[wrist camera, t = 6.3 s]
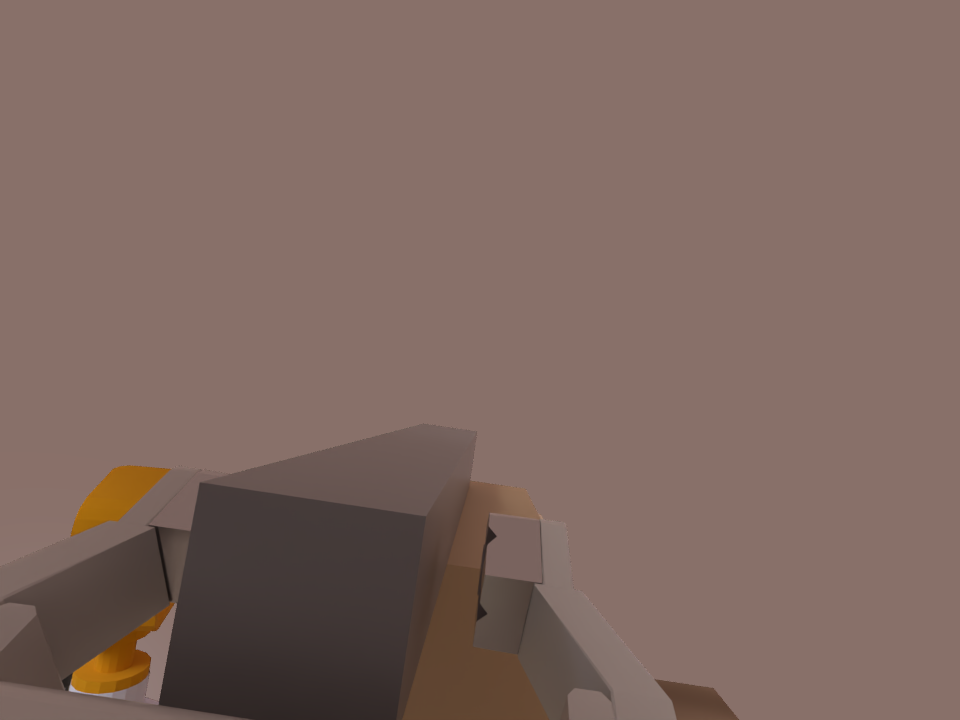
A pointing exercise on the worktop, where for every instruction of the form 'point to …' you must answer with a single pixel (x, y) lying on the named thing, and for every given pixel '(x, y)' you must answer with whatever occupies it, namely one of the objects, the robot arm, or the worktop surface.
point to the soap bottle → (121, 664)
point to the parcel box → (471, 630)
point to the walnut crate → (696, 702)
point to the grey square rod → (318, 579)
